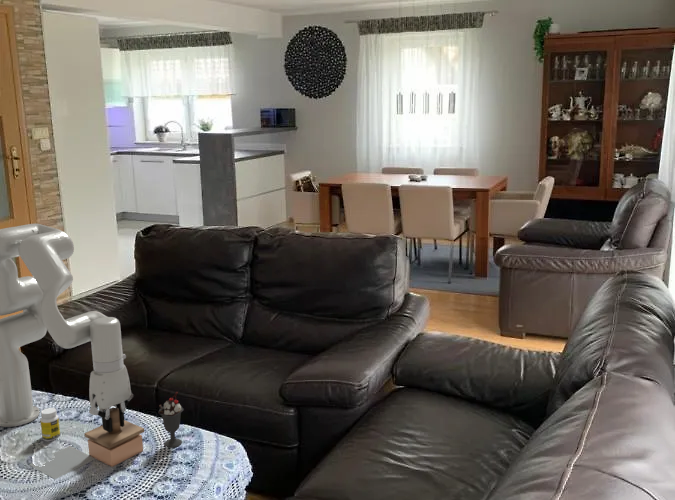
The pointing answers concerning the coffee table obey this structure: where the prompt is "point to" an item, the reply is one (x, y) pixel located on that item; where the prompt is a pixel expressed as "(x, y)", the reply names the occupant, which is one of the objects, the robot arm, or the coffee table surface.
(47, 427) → the supplement bottle
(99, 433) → the lid
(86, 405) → the coffee table surface
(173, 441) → the sundae
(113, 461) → the open wooden box
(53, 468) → the mat
